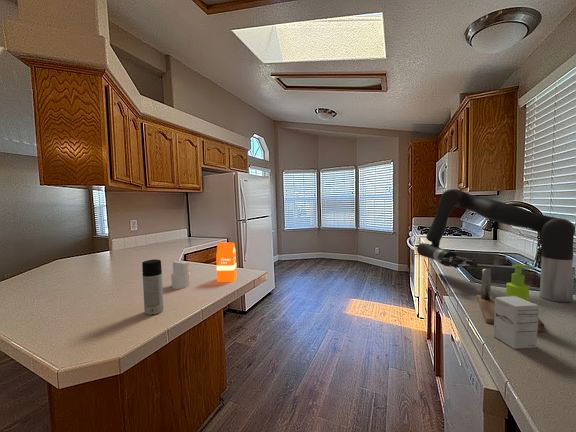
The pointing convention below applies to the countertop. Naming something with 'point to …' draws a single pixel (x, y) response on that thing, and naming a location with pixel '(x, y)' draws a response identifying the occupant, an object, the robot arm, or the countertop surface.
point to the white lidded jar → (181, 275)
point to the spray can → (152, 286)
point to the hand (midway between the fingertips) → (466, 265)
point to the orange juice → (226, 262)
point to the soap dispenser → (518, 283)
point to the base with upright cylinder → (488, 303)
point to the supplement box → (516, 322)
